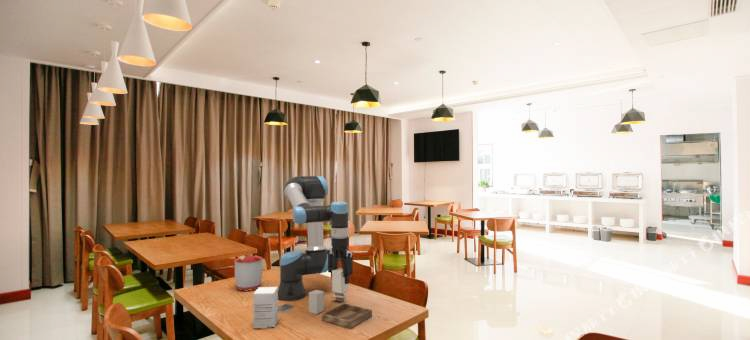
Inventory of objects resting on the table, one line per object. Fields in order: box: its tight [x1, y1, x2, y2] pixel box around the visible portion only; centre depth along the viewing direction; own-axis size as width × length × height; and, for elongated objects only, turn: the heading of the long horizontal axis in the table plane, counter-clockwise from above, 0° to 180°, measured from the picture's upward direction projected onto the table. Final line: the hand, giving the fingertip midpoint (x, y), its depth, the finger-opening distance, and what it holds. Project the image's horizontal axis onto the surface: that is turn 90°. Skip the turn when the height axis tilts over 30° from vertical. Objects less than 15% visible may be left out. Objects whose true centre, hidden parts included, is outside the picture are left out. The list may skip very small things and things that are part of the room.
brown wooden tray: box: [321, 302, 373, 330], centre depth 158 cm, size 16×16×3 cm
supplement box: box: [252, 286, 279, 329], centre depth 152 cm, size 9×9×15 cm
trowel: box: [278, 303, 295, 313], centre depth 166 cm, size 16×6×2 cm, turn 146°
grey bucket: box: [233, 253, 263, 291], centre depth 203 cm, size 16×17×20 cm
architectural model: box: [330, 291, 347, 304], centre depth 179 cm, size 3×7×7 cm, turn 73°
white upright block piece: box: [308, 289, 325, 315], centre depth 167 cm, size 5×5×9 cm
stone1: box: [331, 267, 344, 293], centre depth 154 cm, size 5×5×9 cm
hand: (340, 289), depth 154 cm, fingers closed on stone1, 5 cm apart
